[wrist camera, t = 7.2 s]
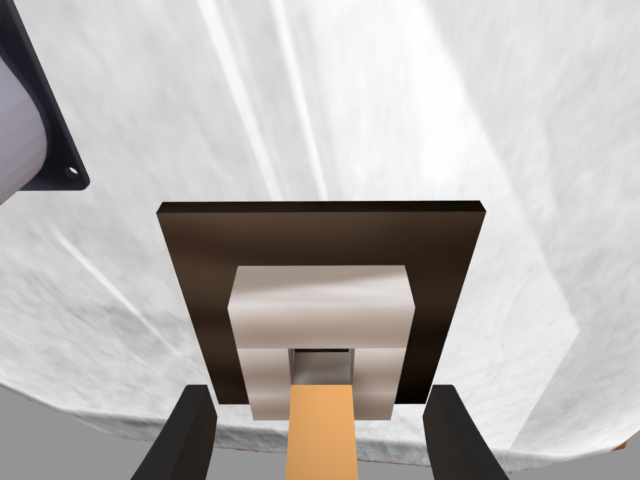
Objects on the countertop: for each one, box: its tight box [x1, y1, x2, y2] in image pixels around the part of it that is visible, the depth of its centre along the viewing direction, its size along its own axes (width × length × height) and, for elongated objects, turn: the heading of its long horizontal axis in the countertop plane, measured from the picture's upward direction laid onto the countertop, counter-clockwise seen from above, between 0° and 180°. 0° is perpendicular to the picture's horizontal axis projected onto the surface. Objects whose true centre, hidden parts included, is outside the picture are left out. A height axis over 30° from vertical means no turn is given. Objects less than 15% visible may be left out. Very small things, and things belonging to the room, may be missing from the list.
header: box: [156, 200, 487, 421], centre depth 24 cm, size 18×16×4 cm
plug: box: [285, 385, 358, 480], centre depth 18 cm, size 4×3×7 cm
